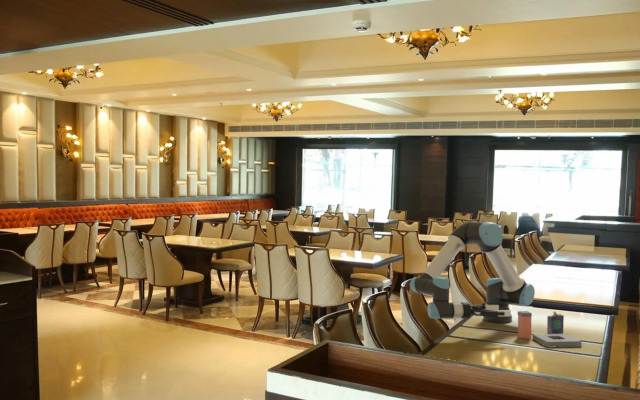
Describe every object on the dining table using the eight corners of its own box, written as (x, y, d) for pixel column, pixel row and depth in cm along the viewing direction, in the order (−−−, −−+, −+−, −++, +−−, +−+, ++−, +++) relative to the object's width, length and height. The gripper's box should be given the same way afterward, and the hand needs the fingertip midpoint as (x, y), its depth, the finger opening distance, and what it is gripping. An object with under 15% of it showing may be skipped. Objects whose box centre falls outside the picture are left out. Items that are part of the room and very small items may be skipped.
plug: (517, 336, 268) (517, 311, 268) (527, 336, 268) (527, 311, 268) (522, 339, 263) (522, 313, 263) (531, 338, 263) (531, 313, 263)
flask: (549, 334, 271) (549, 312, 271) (545, 333, 274) (545, 311, 274) (564, 333, 274) (564, 311, 274) (560, 332, 277) (560, 310, 277)
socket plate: (532, 339, 262) (532, 334, 262) (565, 339, 263) (565, 333, 263) (547, 347, 248) (547, 341, 248) (581, 346, 249) (581, 341, 249)
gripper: (452, 313, 275) (493, 313, 277) (470, 324, 250) (515, 324, 252) (452, 298, 275) (493, 298, 277) (470, 307, 250) (515, 307, 252)
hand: (504, 310), depth 265 cm, fingers open, 13 cm apart
